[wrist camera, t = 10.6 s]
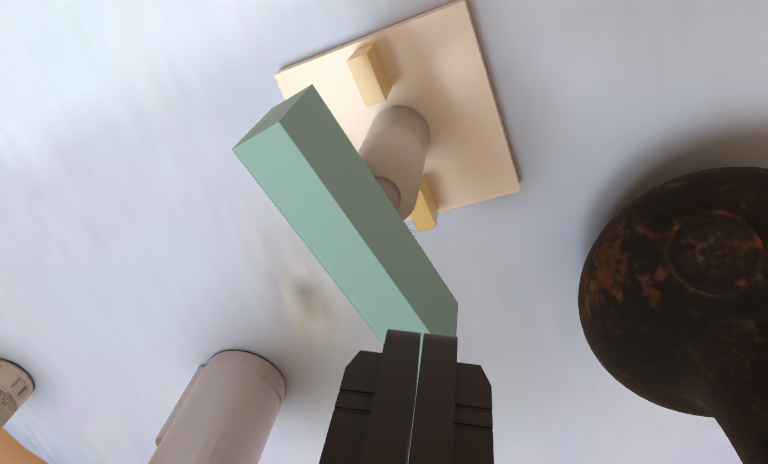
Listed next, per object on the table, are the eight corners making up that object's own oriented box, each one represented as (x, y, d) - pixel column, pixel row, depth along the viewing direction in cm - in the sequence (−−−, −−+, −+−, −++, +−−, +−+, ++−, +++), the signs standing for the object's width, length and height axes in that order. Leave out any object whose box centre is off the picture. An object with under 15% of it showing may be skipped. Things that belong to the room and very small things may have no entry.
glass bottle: (807, 95, 34) (1514, 539, 11) (834, 298, 41) (1281, 818, 18) (535, 189, 40) (605, 591, 17) (601, 350, 48) (711, 780, 25)
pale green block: (459, 282, 33) (454, 366, 27) (423, 296, 34) (410, 379, 28) (322, 71, 27) (278, 121, 21) (284, 96, 28) (231, 149, 22)
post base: (355, 225, 45) (324, 306, 36) (279, 69, 38) (220, 121, 30) (519, 182, 40) (529, 262, 32) (465, -4, 34) (458, 33, 25)
